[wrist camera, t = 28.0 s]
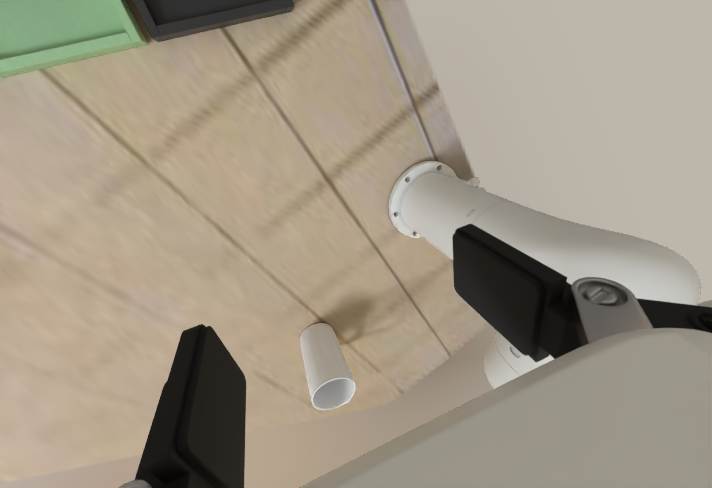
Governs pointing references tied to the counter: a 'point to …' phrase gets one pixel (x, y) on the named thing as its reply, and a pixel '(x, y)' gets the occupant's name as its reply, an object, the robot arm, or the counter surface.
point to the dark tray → (203, 14)
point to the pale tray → (62, 32)
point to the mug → (326, 368)
